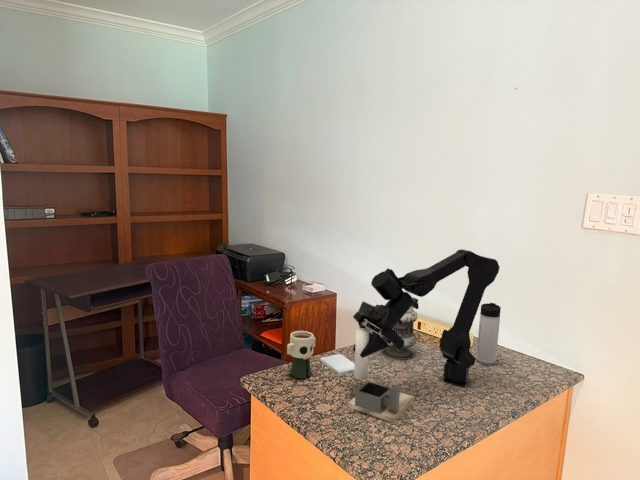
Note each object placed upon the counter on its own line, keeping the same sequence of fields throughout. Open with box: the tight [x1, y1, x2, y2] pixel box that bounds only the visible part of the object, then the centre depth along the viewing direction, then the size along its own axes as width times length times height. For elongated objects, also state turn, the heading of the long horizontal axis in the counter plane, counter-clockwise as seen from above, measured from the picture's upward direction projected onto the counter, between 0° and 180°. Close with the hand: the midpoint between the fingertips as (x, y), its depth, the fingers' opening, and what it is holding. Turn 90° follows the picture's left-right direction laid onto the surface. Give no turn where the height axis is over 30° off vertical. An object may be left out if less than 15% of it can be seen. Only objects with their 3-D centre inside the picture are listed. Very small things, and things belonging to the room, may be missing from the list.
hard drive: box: [319, 353, 355, 376], centre depth 144 cm, size 2×8×12 cm
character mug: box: [286, 330, 316, 379], centre depth 135 cm, size 11×7×13 cm, turn 132°
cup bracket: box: [354, 380, 401, 414], centre depth 116 cm, size 10×7×6 cm
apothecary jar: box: [383, 307, 419, 360], centre depth 155 cm, size 12×12×18 cm
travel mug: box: [475, 302, 502, 366], centre depth 150 cm, size 6×7×20 cm
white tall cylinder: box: [353, 327, 370, 380], centre depth 120 cm, size 4×4×13 cm
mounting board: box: [347, 391, 415, 424], centre depth 120 cm, size 13×14×1 cm
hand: (357, 353), depth 119 cm, fingers closed on white tall cylinder, 4 cm apart
